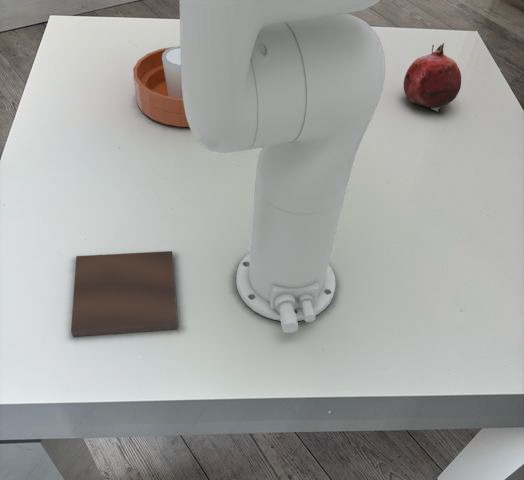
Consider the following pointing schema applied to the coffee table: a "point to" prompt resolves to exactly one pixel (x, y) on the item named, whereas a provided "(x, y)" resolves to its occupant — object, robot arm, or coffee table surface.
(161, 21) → the coffee table surface
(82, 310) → the pad
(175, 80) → the white cup
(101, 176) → the coffee table surface
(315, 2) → the robot arm
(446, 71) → the fruit
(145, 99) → the bowl
